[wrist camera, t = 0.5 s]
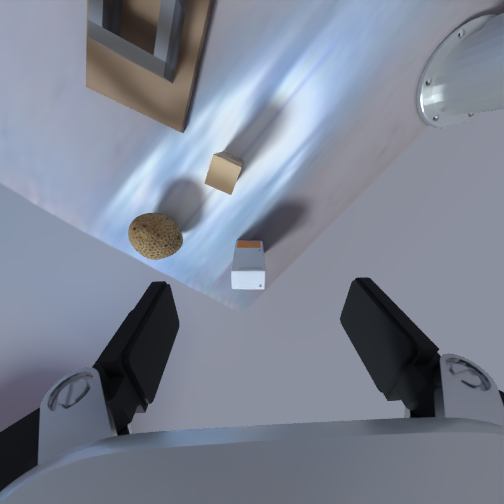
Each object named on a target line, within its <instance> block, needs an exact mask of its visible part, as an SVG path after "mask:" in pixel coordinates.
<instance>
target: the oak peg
mask: <svg viewBox="0 0 504 504" xmlns="http://www.w3.org/2000/svg"><path fill="white" fill-rule="evenodd" d="M242 165H243V161H241V160H239V159H237V158H235V157H233V156H231V155H229V154H227V153H225V152H220V153H216V154H213V158H212V161H211V164H210V167H209V171H208V174H207V177H206V181H205V184H207V185H209V186H212V187H214V188H216V189H218V190H221V191H223V192H225V193H228V194H230V195H231V194H232V192H233V189H234V186H235V184H236V181H237V178H238V176H239V173H240V171H241V168H242Z"/></svg>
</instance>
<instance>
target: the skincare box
mask: <svg viewBox="0 0 504 504" xmlns="http://www.w3.org/2000/svg"><path fill="white" fill-rule="evenodd" d="M265 274H266V270H265V260H264V251H263V242H262V241H244V240H237V241H236V245H235V251H234V257H233V263H232V269H231V279H232V289H265Z"/></svg>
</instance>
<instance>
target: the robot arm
mask: <svg viewBox="0 0 504 504" xmlns="http://www.w3.org/2000/svg"><path fill="white" fill-rule="evenodd" d="M417 107H418V111H419V114H420V116H421V118H422V119H423V121H424V122H426V123H427V124H428V125H430V126H433V127H437V128H447V127H453V126H457V125H460V124H462V123H465V122H466V121H468V120H470V119H472V118H473V117H475V116H476V115H477V114H478V113H480V112H485V111H493V110H500V109H504V13H502V14H500V15H494V14H491V15H484V16H481V17H478V18H475V19H473V20H471V21H469V22H467V23H466V24H464V25H462V26H461V27H459V28H458V29H456V30H455V31H454V32H452V33H451V34H450V35H449V36H448V37H447V38H446V39H445V40H444V41H443V42H442V43H441V44H440V45H439V47H438V48H437V49H436V50H435V52H434V53H433V55H432V56H431V58H430V59H429V61H428V63H427V65H426V67H425V69H424V71H423V73H422V76H421V79H420V81H419V86H418V90H417ZM340 321H341V324H342V326H343V328H344V329H345V331H346V333H347V335H348V337H349V338H350V340H351V342H352V344H353V346H354V347H355V349H356V351H357V353H358V354H359V356H360V358H361V360H362V362H363V363H364V365H365V367H366V369H367V370H368V372H369V374H370V375H371V377H372V379H373V381H374V383H375V385H376V387H377V388H378V390H379V391H380V392H382V393H384V395H385V397H386V399H387V401H396V400H402V402H403V403H404V405H405V415H404V418H395V419H375V420H353V421H332V422H313V423H293V424H275V425H256V426H238V427H222V428H204V429H187V430H174V431H161V432H150V433H136V434H132V430H131V427H130V422H131V421H132V419H133V416H134V414H135V413H145V412H146V409H147V406H148V404H150V403H152V402H153V400H154V398H155V394H156V392H157V389H158V386H159V383H160V380H161V378H162V375H163V372H164V369H165V366H166V363H167V361H168V358H169V355H170V352H171V349H172V346H173V343H174V341H175V338H176V335H177V332H178V329H179V319H178V315H177V311H176V307H175V303H174V299H173V295H172V291H171V287H170V285H169V284H167V283H166V282H164V281H163V282H152V283H151V284H150V286H149V287H148V289H147V290H146V292H145V293H144V295H143V296H142V298H141V299H140V301H139V302H138V304H137V305H136V307H135V308H134V309H133V310H132V311H131V312H130V313H129V314H128V316H127V317H126V319H125V320H124V322H123V323H122V324H121V326H120V327H119V329H118V330H117V332H116V333H115V335H114V336H113V338H112V339H111V341H110V342H109V343H108V345H107V346H106V348H105V349H104V351H103V352H102V354H101V355H100V357H99V358H98V360H97V361H96V362H95V364H94V365H93V367H92V368H89V367H85V368H81V369H78V370H75V371H73V372H71V373H69V374H67V375H66V376H64V377H63V378H61V379H60V380H59V381H58V382H57V383H55V384H54V385H53V386H52V387H51V389H50V390H49V391H48V392H47V393H46V395H45V397H44V398H43V400H42V403H41V407H40V408H38V409H37V410H35V411H33V412H32V413H30V414H29V415H27V416H25V417H24V418H22V419H21V420H19V421H18V422H16V423H14V424H13V425H11V426H9V427H8V428H6V429H5V430H3V431H2V432H0V504H504V393H503V392H502V391H500V390H498V388H497V385H496V384H495V382H494V380H493V379H492V378H491V377H490V376H489V374H488V373H486V372H485V371H484V370H483V369H482V368H481V367H479V366H478V365H476V364H475V363H473V362H472V361H470V360H468V359H466V358H464V357H461V356H458V355H455V354H443V355H442V356H440V355H439V354H438V353H437V351H438V350H439V348H438V347H437V346H436V345H435V344H434V343H433V342H432V341H431V340H430V339H429V338H428V337H427V336H426V335H425V334H424V333H423V332H422V331H421V330H420V329H419V328H418V327H417V326H416V325H415V324H414V323H413V322H412V321H411V320H410V318H409V317H407V315H406V314H405V313H404V312H403V311H402V310H400V308H399V307H398V306H397V305H396V304H395V303H394V302H393V301H392V300H391V299H390V298H389V297H388V296H387V295H386V294H385V293H384V292H383V291H382V290H381V289H380V288H379V287H378V286H377V285H376V284H375V283H374V282H373V281H372V280H371V279H370V278H356V279H355V280H354V281H352V283H351V286H350V289H349V292H348V295H347V298H346V301H345V305H344V307H343V310H342V313H341V317H340Z"/></svg>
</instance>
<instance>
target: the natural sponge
mask: <svg viewBox="0 0 504 504" xmlns="http://www.w3.org/2000/svg"><path fill="white" fill-rule="evenodd" d="M128 235H129V240H130V243H131V244H132V246H133V247H134V248H135V249H136V250H137V251H138V252H139V253H140V254H141V255H143V256H144V257H146V258H148V259H153V260H157V259H162V258H165V257H168V256H171V255H173V254H174V253H176V252H177V251H178V250H179V249H180V248H181V246H182V244H183V237H182V234H181V231H180V228H179V226H178V225H177V223H176V222H175V221H174V220H172V219H171V218H169V217H168V216H166V215H163V214H160V213H147V214H143V215H140V216H138V217H137V218H135V219H134V220H133V221H132V223H131V224H130V227H129V232H128Z"/></svg>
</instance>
